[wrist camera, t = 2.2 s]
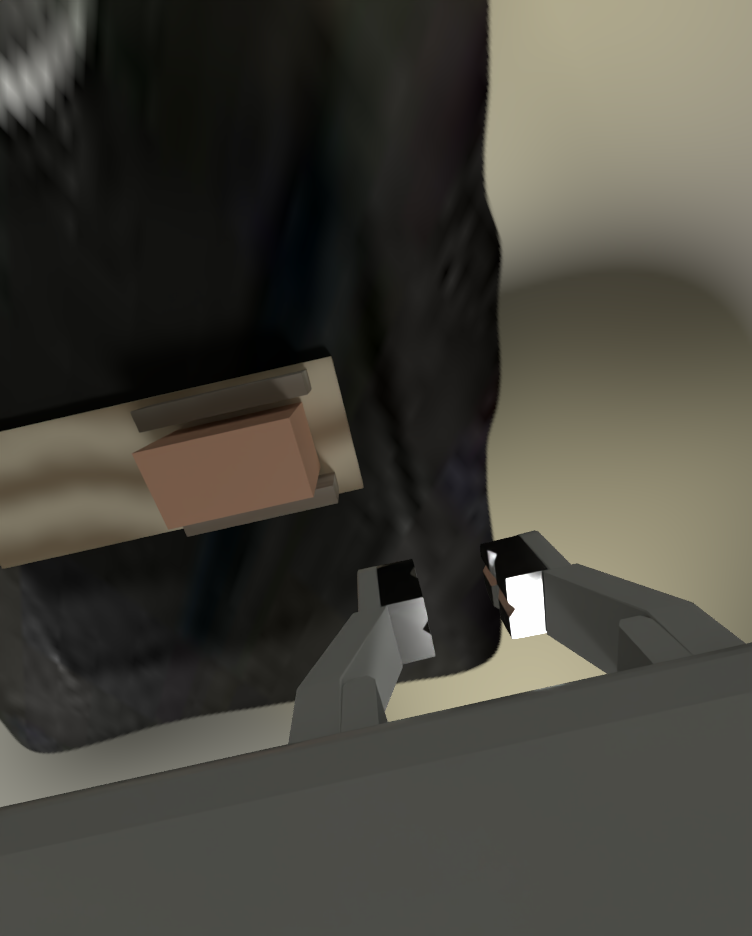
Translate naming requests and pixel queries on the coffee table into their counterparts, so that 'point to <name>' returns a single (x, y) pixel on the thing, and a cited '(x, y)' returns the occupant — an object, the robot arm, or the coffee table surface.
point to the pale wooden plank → (118, 477)
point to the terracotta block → (231, 466)
